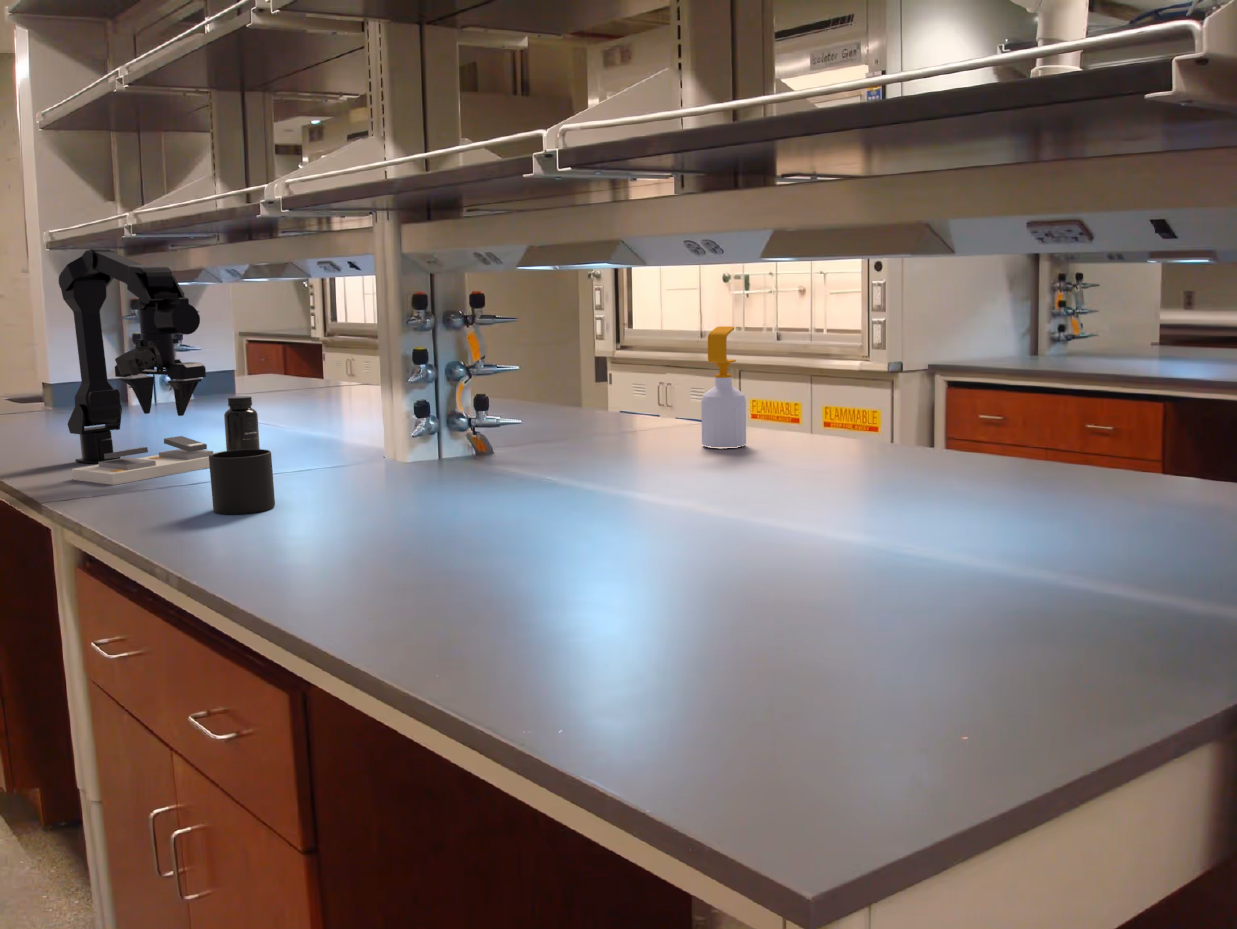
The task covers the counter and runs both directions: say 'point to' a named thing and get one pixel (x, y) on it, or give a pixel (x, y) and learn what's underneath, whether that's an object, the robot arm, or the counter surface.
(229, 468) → the mug
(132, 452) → the rocker
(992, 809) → the counter surface
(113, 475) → the switch panel
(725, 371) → the soap bottle
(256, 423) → the supplement bottle
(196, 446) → the rocker
